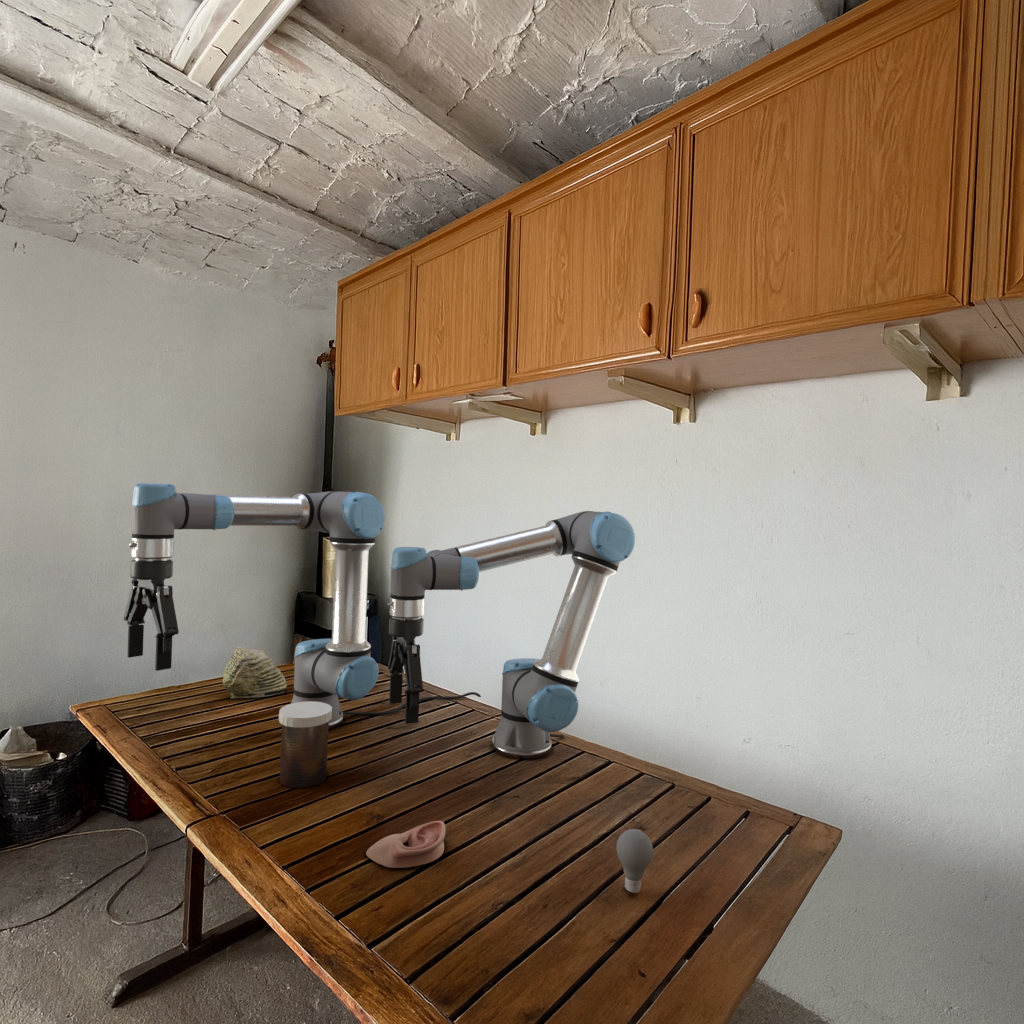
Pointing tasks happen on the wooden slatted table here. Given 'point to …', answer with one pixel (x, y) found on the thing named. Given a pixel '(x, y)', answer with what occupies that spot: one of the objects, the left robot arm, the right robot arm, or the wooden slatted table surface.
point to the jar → (303, 755)
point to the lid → (305, 714)
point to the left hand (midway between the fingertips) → (148, 662)
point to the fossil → (252, 674)
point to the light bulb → (634, 857)
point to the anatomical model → (410, 846)
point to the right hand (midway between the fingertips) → (403, 712)
